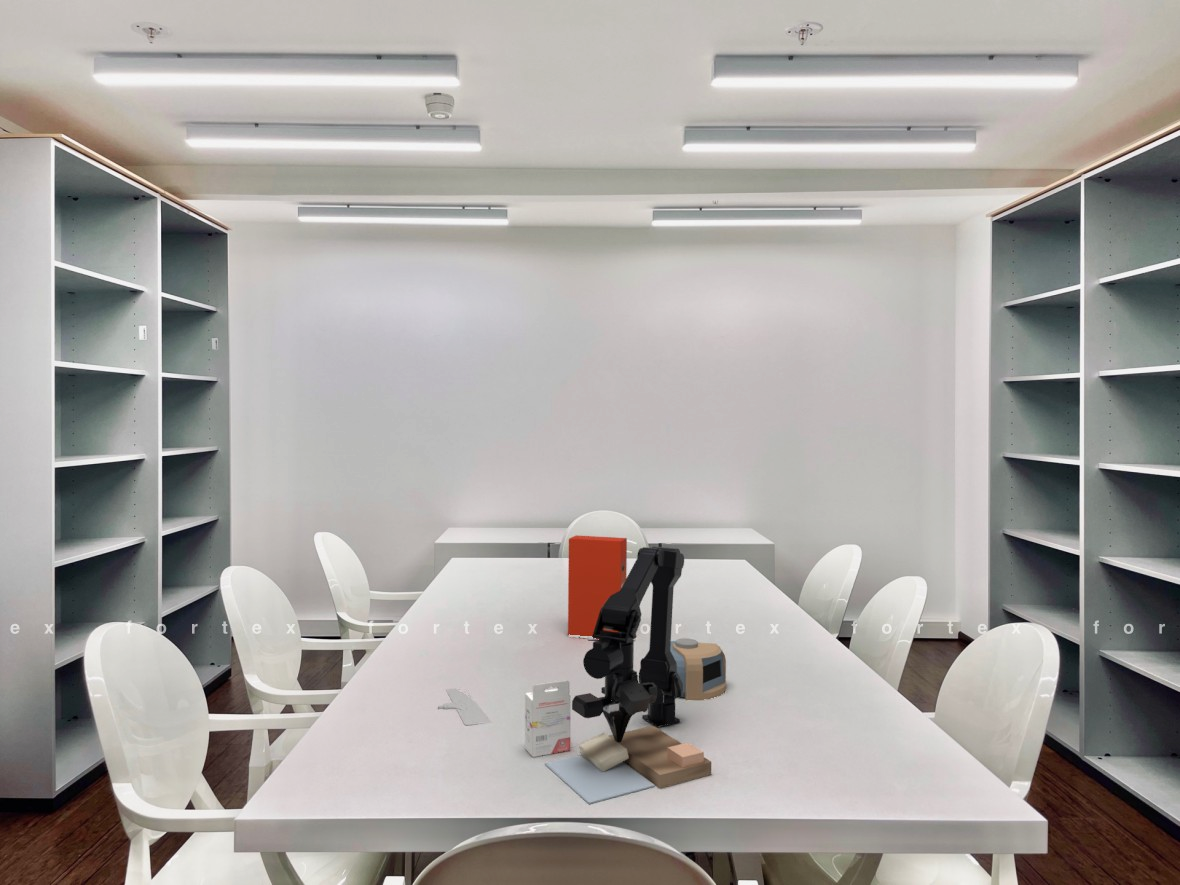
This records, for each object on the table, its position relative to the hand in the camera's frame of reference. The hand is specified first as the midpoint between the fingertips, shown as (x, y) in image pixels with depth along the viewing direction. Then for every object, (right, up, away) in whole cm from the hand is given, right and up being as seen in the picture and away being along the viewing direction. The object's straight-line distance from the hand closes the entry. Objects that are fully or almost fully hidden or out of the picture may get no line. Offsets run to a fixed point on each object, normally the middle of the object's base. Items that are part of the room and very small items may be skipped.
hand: (618, 741), depth 150 cm
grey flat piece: (-31, -4, +31) cm, 44 cm away
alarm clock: (+19, -4, +44) cm, 48 cm away
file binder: (-3, -3, +91) cm, 91 cm away
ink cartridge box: (-15, -4, +4) cm, 16 cm away
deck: (+8, -4, -1) cm, 8 cm away
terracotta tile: (+13, -1, -6) cm, 14 cm away
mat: (-4, -4, -7) cm, 9 cm away
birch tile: (-3, -2, -1) cm, 4 cm away
